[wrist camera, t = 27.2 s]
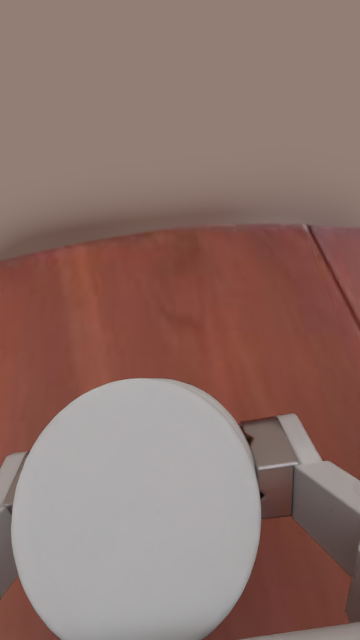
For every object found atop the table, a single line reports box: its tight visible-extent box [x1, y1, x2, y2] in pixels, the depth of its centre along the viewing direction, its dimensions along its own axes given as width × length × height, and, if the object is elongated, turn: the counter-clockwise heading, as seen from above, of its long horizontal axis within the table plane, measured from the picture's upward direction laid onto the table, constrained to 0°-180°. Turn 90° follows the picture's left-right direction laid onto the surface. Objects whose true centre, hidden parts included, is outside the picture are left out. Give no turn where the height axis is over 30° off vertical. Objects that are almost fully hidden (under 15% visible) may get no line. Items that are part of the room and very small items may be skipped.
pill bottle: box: [11, 378, 261, 640], centre depth 9 cm, size 5×5×8 cm
